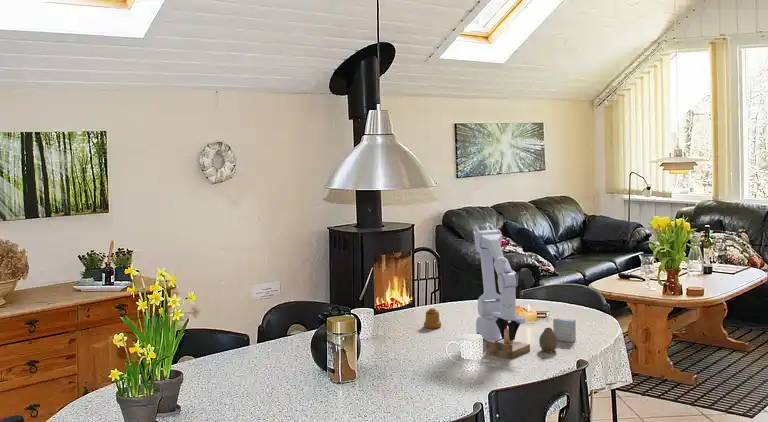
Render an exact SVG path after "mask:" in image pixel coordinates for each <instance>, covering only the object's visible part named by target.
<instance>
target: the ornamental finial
mask: <svg viewBox="0 0 768 422" xmlns="http://www.w3.org/2000/svg"><path fill="white" fill-rule="evenodd" d="M423 326H424V328H425V329H430V330H436V329H439V328H441V327H442V322H441V320H440V311H438V310H437V309H436V308H434V307H433V308H432V307H431V308H429V309H427V310H426V312H425V320H424V322H423Z"/></svg>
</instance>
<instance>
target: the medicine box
mask: <svg viewBox="0 0 768 422" xmlns="http://www.w3.org/2000/svg"><path fill="white" fill-rule="evenodd" d="M576 321H577V319H576V318H570V317H563V316H557V317H555V318H553V321H552V322H553V325H552V328H553V329H552V330H553V332H554V333H555V334H556V336H557V339H558V342H566V343H567V342H568V343H573V342H575V341H576V338H577V337H576V335H577V334H576V333H577V332H576V326H577V325H576V323H577V322H576Z"/></svg>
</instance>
